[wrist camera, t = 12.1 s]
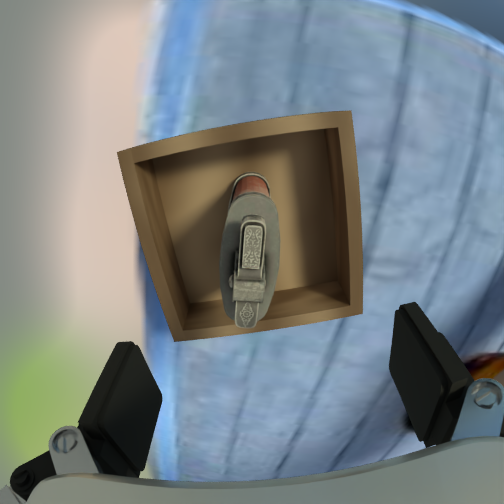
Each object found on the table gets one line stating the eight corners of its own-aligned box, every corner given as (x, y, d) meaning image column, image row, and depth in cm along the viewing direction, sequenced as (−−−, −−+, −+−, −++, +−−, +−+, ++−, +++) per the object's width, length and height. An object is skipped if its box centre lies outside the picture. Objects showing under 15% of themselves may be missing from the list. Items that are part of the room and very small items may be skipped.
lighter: (265, 270, 27) (274, 351, 17) (224, 268, 26) (213, 347, 17) (275, 173, 23) (294, 210, 14) (229, 170, 23) (218, 205, 14)
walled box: (331, 111, 22) (351, 110, 18) (346, 283, 28) (362, 313, 24) (140, 145, 23) (116, 152, 19) (184, 307, 29) (174, 341, 25)
